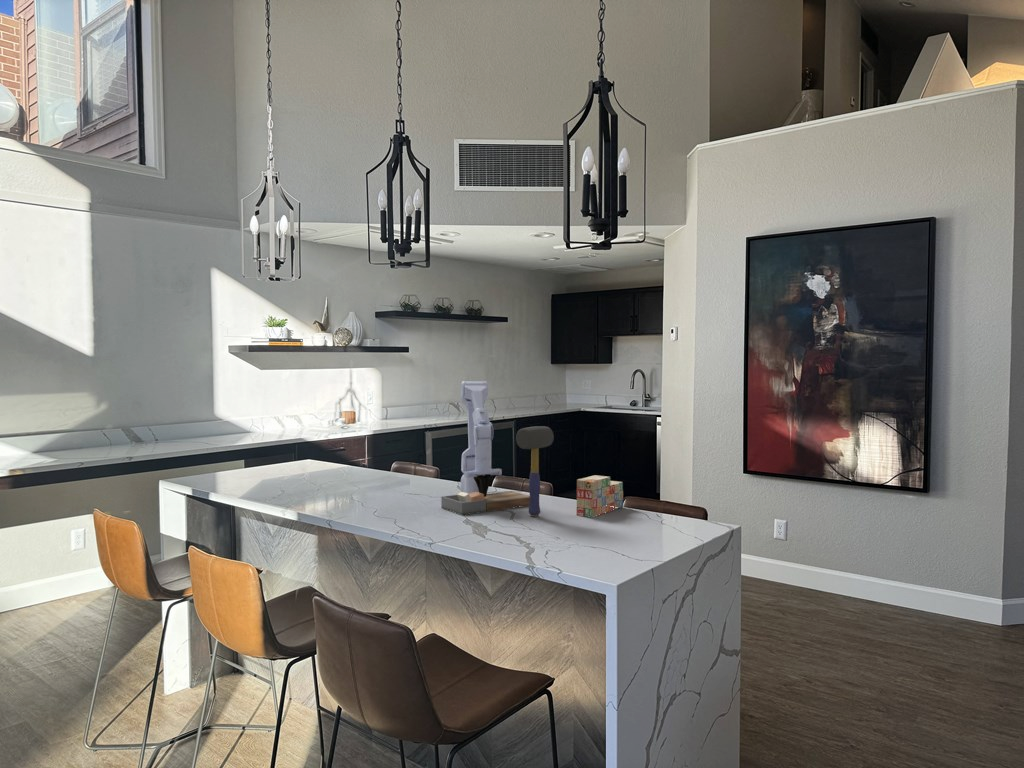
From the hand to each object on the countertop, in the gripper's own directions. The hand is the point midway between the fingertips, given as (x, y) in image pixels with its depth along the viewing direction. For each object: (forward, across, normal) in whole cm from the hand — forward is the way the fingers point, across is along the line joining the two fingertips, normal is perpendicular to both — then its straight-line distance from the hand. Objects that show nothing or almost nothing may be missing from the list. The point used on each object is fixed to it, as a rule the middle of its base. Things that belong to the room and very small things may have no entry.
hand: (483, 496), depth 250 cm
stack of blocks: (+4, +30, -28) cm, 41 cm away
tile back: (+1, -4, 0) cm, 4 cm away
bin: (+4, -8, 0) cm, 9 cm away
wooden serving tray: (+4, +7, 0) cm, 8 cm away
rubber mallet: (+4, +6, -22) cm, 23 cm away
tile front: (0, -6, 0) cm, 6 cm away
